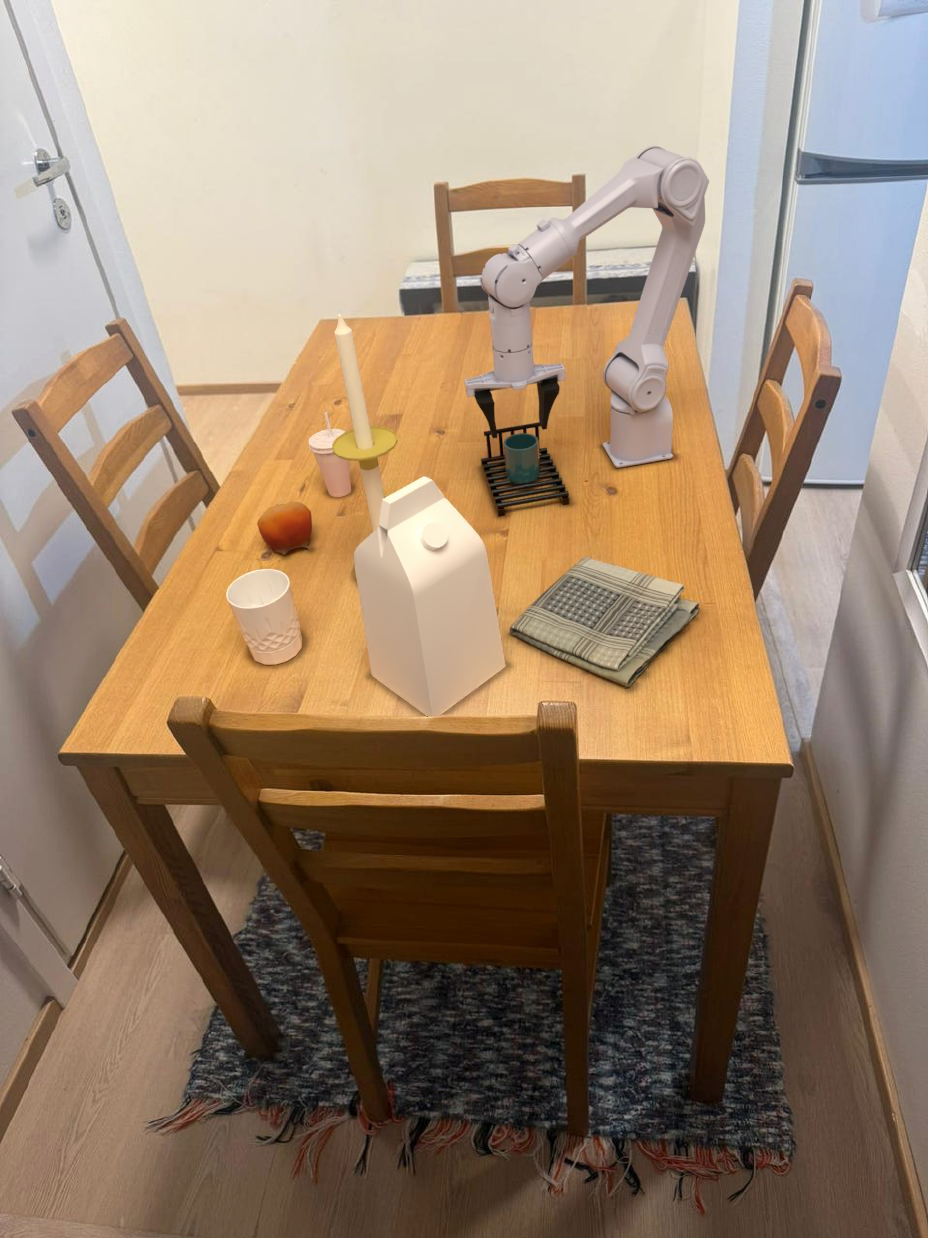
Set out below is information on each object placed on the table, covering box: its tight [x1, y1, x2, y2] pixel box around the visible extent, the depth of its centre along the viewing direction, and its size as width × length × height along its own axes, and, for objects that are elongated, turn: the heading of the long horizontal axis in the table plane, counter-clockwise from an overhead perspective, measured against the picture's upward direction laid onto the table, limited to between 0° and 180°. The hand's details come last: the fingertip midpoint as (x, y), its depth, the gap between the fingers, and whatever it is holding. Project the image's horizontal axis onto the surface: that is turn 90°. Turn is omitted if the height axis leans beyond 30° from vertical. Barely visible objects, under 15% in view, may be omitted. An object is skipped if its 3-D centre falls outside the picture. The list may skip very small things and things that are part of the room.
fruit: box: [256, 501, 313, 556], centre depth 131 cm, size 8×8×8 cm
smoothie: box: [307, 411, 352, 498], centre depth 139 cm, size 6×6×14 cm
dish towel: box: [509, 556, 700, 688], centre depth 110 cm, size 19×18×3 cm
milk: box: [353, 475, 507, 717], centre depth 100 cm, size 12×12×26 cm
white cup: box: [225, 568, 303, 666], centre depth 111 cm, size 8×8×10 cm
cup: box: [503, 432, 541, 484], centre depth 136 cm, size 5×5×6 cm
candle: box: [332, 309, 398, 581], centre depth 113 cm, size 10×10×38 cm
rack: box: [480, 421, 570, 517], centre depth 137 cm, size 11×15×7 cm
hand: (518, 430), depth 133 cm, fingers open, 7 cm apart
